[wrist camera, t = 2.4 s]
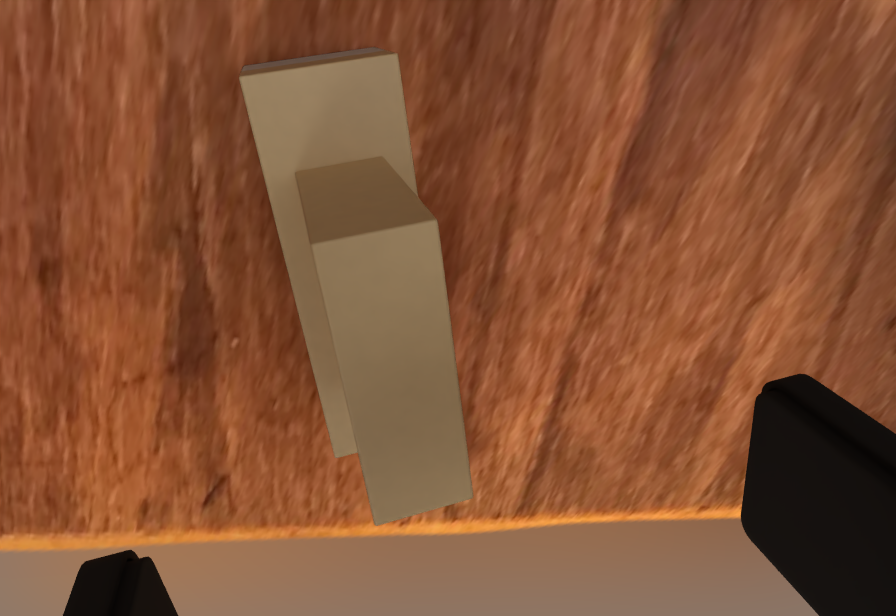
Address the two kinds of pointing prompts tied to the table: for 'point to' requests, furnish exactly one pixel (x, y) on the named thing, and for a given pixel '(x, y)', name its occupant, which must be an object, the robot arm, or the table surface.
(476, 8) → the table surface
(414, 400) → the wooden block stamp
